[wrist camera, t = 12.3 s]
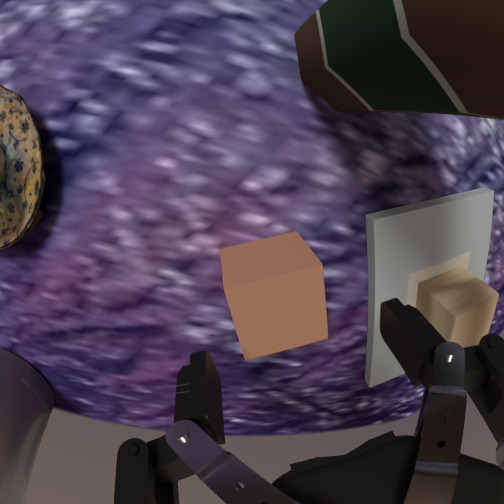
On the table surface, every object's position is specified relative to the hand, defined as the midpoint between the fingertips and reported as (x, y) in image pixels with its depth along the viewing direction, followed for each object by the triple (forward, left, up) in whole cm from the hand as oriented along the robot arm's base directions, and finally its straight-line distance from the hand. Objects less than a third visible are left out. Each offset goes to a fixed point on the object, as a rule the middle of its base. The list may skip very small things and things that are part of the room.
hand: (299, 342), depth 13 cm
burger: (-17, +12, -8) cm, 23 cm away
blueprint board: (+14, -7, -8) cm, 17 cm away
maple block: (+14, -7, -7) cm, 17 cm away
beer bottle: (+8, +12, -8) cm, 17 cm away
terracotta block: (0, -1, -8) cm, 8 cm away
